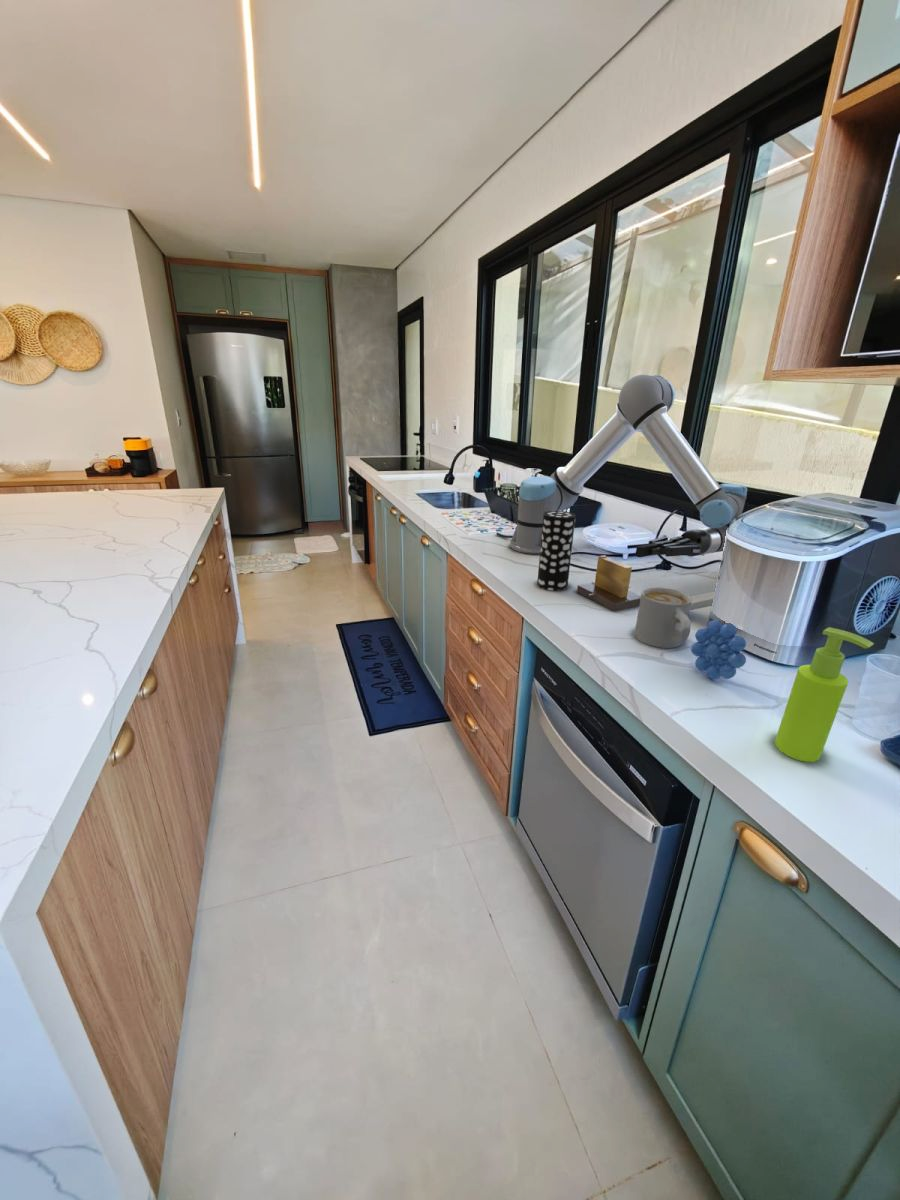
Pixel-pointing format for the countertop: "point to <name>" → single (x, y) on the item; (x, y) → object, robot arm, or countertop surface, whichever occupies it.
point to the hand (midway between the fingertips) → (638, 551)
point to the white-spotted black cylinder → (556, 550)
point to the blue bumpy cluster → (719, 650)
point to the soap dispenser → (815, 699)
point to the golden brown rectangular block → (613, 576)
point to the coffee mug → (663, 617)
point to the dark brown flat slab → (608, 597)
